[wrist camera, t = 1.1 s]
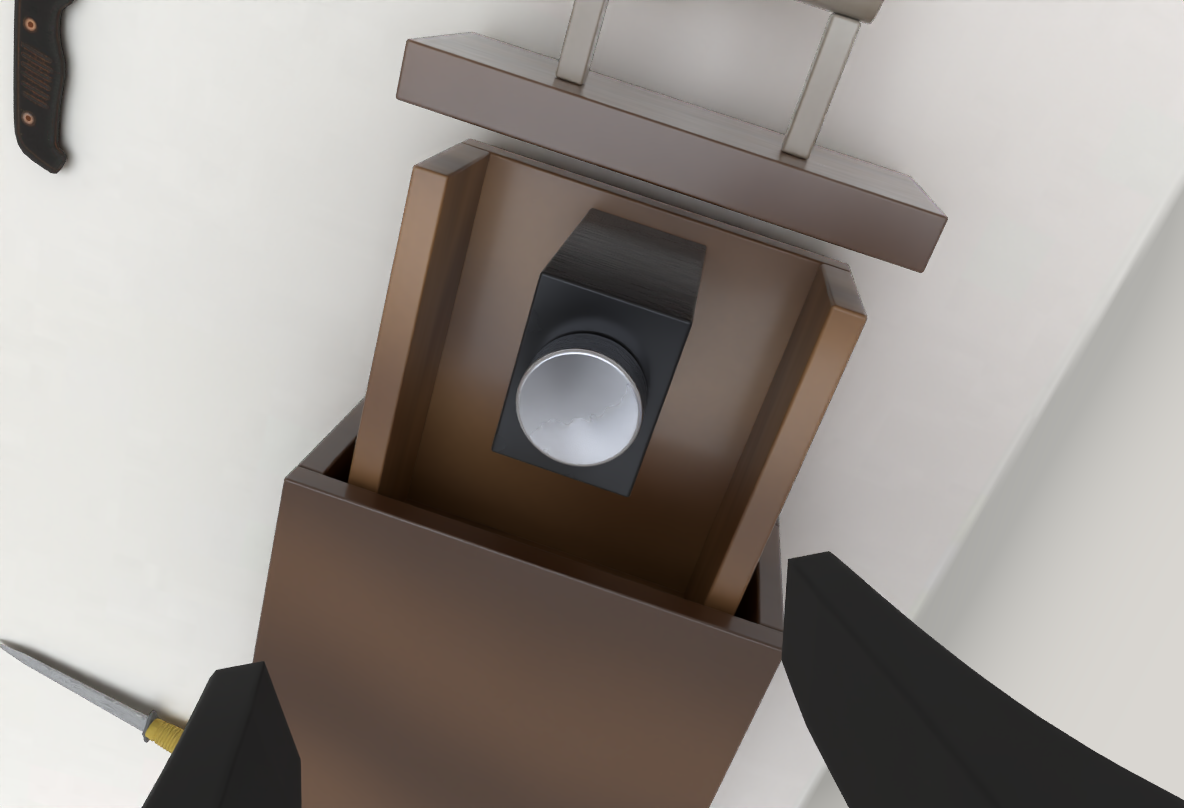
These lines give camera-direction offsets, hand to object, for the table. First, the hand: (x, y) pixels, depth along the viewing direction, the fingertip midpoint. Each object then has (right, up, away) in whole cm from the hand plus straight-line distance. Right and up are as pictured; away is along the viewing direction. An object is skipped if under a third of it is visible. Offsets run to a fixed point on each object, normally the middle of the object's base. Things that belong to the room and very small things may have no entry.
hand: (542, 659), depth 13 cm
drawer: (+2, +7, +12) cm, 14 cm away
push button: (+2, +6, +11) cm, 12 cm away
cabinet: (-2, -4, +18) cm, 18 cm away
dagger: (-17, -8, +22) cm, 28 cm away
